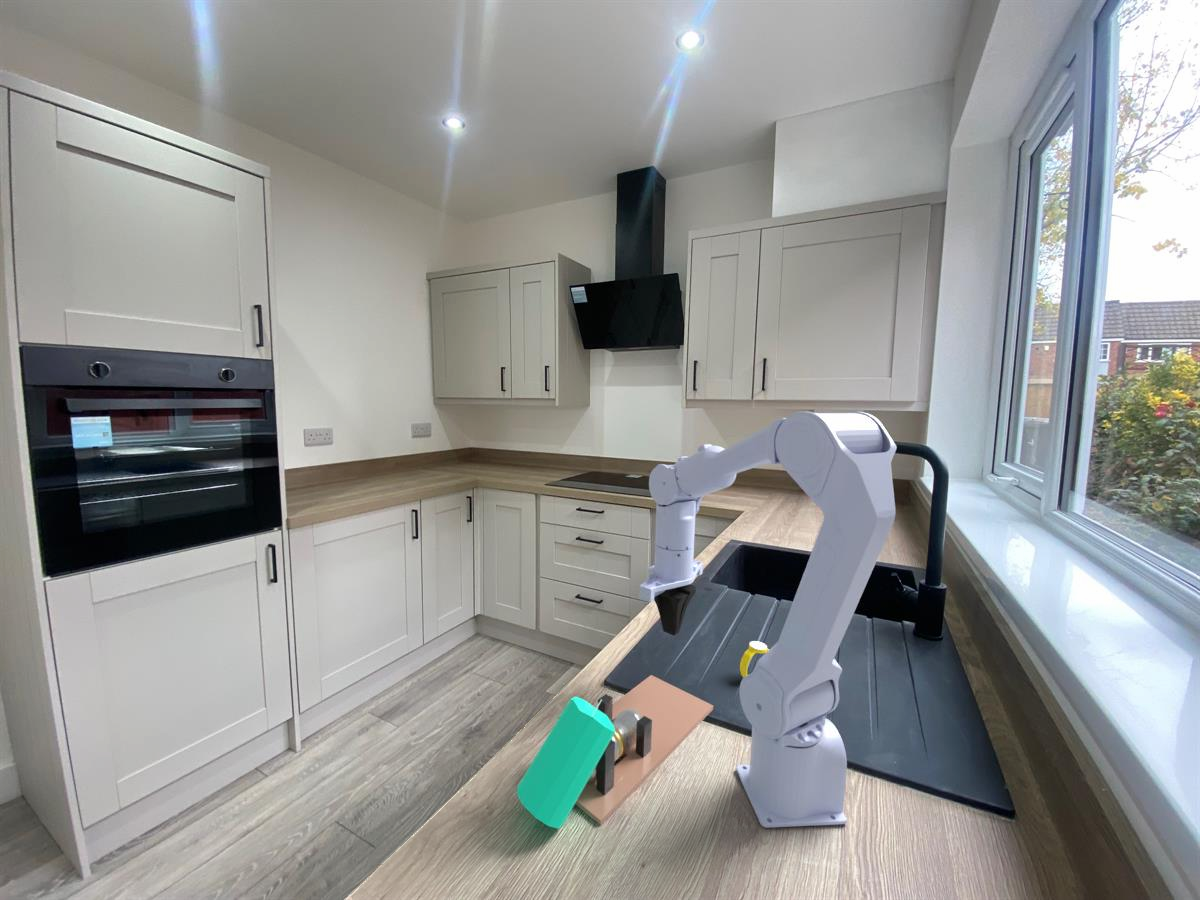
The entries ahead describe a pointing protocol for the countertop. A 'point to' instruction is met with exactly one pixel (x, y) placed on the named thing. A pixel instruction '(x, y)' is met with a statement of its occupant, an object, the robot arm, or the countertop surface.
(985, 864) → the countertop surface
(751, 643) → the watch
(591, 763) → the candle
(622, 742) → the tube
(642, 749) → the black upright posts
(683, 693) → the plate
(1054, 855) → the countertop surface
